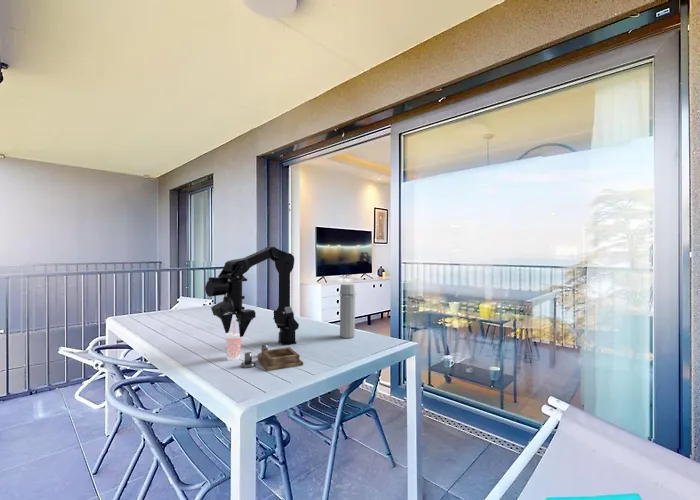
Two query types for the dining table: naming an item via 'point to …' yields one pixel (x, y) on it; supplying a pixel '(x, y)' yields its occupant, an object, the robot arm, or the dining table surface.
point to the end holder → (279, 359)
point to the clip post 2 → (263, 348)
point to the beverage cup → (233, 344)
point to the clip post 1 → (248, 361)
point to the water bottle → (347, 310)
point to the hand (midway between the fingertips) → (234, 334)
